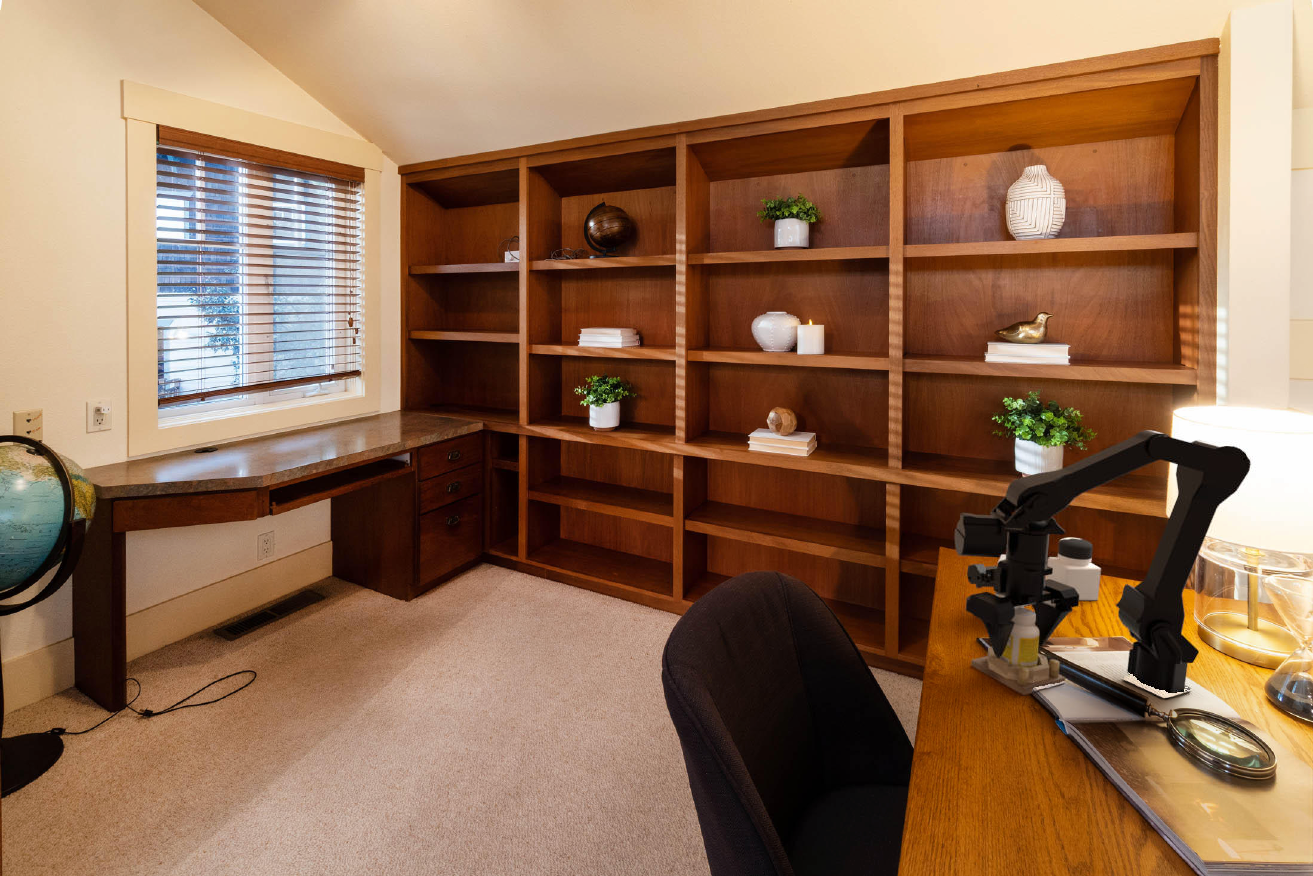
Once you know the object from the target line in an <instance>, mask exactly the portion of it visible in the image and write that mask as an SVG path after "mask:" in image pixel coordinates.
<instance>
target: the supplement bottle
mask: <svg viewBox="0 0 1313 876" xmlns="http://www.w3.org/2000/svg"><path fill="white" fill-rule="evenodd" d="M1011 621H1013V622H1015V624H1014V627H1013V629H1012V632H1011V635H1010V637H1009V640H1008V643H1007V645H1006V648H1005V650H1004V652H1003V654H1002V656H1001V657H999V659H1001V660H1003V661H1005V662H1006V663H1008V664H1010V665H1015V666H1021V667H1027V668H1031V667H1035V666H1037V658H1038V653H1039V629H1038V628H1037V626H1036V625H1035V621H1036V614H1035V611H1034V610H1032V609H1029V608H1026V607H1024V608H1022V607H1020V608H1015V616H1014V617H1013V619H1012V620H1011Z"/></svg>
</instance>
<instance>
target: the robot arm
mask: <svg viewBox="0 0 1313 876" xmlns="http://www.w3.org/2000/svg"><path fill="white" fill-rule="evenodd" d="M1157 461H1164V462H1168V463H1171V464H1175V465H1177V466H1176V470H1175V476H1176V484H1177V485H1176V486H1177V493H1178V494H1177V497H1176V500H1175V502H1174V505H1173V508H1172V510H1171V513H1170V515H1169V517H1168V520H1167V523H1166V525H1165V528H1164V530H1163V533H1162V536H1161V538H1160V540H1159V543H1158V545H1157V548H1156V551H1155V552H1154V556H1153V558H1152V561H1151V563H1150V566H1149V568H1148V570H1147V573H1146V576H1145V578H1144V579H1143V580H1142V581H1141V582H1139V583H1138V584H1137V585H1136V586H1132V585H1130V584H1128V583H1126V584H1125V585H1124V587H1123V589H1122V594H1121V597H1120V600H1119V601H1118V602H1116V604H1115V606H1116V608H1117V609H1118V613H1117V614H1118V618H1119V620H1120V622H1121V623H1122V625H1123V626H1124V627H1125V628H1126V629H1128V632H1129V635H1130V637H1132V638H1133V639H1134V640H1136V641H1134V642H1132V648H1131V649H1129V651H1128V652H1129V653H1128V660H1127V669H1126V670H1127V671H1128V672H1129V673H1130V674H1133V676H1135V677H1136V678H1137V680H1139V681H1140V682H1141V683H1143V684H1146V685H1148V686H1151V687H1154V688H1155V689H1159V690H1165V691H1166V692H1168V693H1177V692H1184V689H1187V690H1190V689H1192V688H1191V687H1190V686H1187V685H1186V678H1187V671H1188V664H1193V663H1194V662H1195V660H1196V658H1197V657H1198V655H1199V652H1200V651H1199V649H1197V648H1196V646H1195V645H1194V644H1192V643H1191V642H1190V641H1189V640H1188V639H1187V638H1186V637H1185V636H1184V635H1183V634H1182V632H1183V628H1184V623H1185V617H1186V614H1185V613H1186V612H1185V608H1184V607H1185V606H1184V599H1183V592H1184V590H1185V588H1186V585H1187V584H1188V583H1187V582H1188V580H1189V578H1190V576H1191V572H1192V571H1193V568H1194V565H1195V563H1196V560H1197V558H1198V555H1199V553H1200V551H1201V549H1202V546H1203V543H1204V541H1205V538H1206V536H1207V534H1208V531H1209V529H1210V526H1211V523H1212V522H1213V519H1214V516H1215V514H1216V511H1217V510H1218V508H1219V506H1220V505H1221V504H1222V503H1223V502H1224V501H1226V500H1227V499H1228V498H1230V497H1231V496H1232V495H1234V494H1235V493H1236V492H1237V491H1238V489H1239V488H1240V486H1241V485H1242V483H1243V482H1244V480H1245V479H1246V477H1247V475H1248V474H1249V473H1250V468H1251V465H1252V464H1251V463H1252V462H1251V459H1250V458H1249V457H1248V455H1247V454H1246V452H1245V451H1244V450H1242V449H1241V448H1239V447H1236V446H1235V445H1231V444H1230V445H1229V444H1226V443H1221V442H1218V441H1214V440H1210V439H1197V440H1194V441H1191V442H1190V441H1186V440H1182V439H1179V438H1178V439H1177V438H1174V437H1172V436H1170V435H1169V434H1166V433H1162V432H1159V431H1154V430H1151V429H1150V430H1148V429H1146V430H1141V431H1139V432H1138V433H1136V434H1135V435H1133V436H1132V437H1130V438H1127V439H1126V440H1122V441H1121V442H1119V443H1116V444H1113V445H1112V446H1110V447H1107V448H1106V449H1103V450H1101V451H1099V452H1097V453H1094V454H1092V455H1090V456H1088V457H1085V458H1083V459H1081V460H1079V461H1077V462H1075V463H1074V462H1073V464H1071V465H1068V466H1066V467H1063V468H1060V469H1057V470H1052V471H1046V472H1045V471H1044V472H1038V473H1034V474H1030V475H1027V476H1024V477H1020V478H1017V479H1015V480H1013V481H1012V482H1011V483H1010V484H1009V485H1008V487H1007V489H1006V490H1007V491H1006V492H1005V496H1004V497H1002V499H1001V500H1000V501H999V502H998V503H997V504H996V505H995V506H994V507H993V509H991V510H990V515H989V514H975V513H969V512H961V513H960V516H959V517H960V518H959V520H958V522H957V524H956V528H955V530H954V545H955V550H956V551H955V552H956V553H957V555H958V556H963V557H978V558H979V557H983V558H984V557H986V558H998V557H1000V556H1001V555H1003V554H1004V552H1005V551H1006V553H1005V555H1006V560H1001V561H999V560H998V561H999V562H998V561H997V564H998V565H988V566H985V565H984V564H983V563H978V564H977V563H974V564H969V565H968V566H967V573H966V575H967V576H966V577H967V580H968V582H969V584H971V585H975V588H976V589H981V588H993V592H995V591H996V592H998V593H1004V596H1005V597H1002V598H1001V597H998V596H996V595H995V594H993V593H991V592H988V591H983V592H978V593H973V594H970V595H969V596H967V597H966V601H965V611H966V612H967V613H970V614H971V615H973V616H974V617H976V618H978V619H980V620H981V622H982V623H983V625H984V627H985V629H986V631H987V635H988V638H989V641H990V645H991V647H992V648H993V651H994V654H995V655H997V656H999V657H1001V656H1002V654H1003V652H1004V650H1005V648H1006V645H1007V643H1008V640H1009V637H1010V635H1011V632H1012V629H1013V627H1014V624H1015V622H1013V621H1011V620H1012V619H1013V617H1014V616H1015V608H1020V607H1024V608H1026V607H1028V606H1031V607H1032V608H1033V611H1034V612H1035V614H1036V621H1035V623H1034V625H1036V626H1037V628H1038V629H1039V645H1038V647H1044V645H1045V644H1046V643H1047V641H1048V640H1049V638H1050V637H1051V636H1052V634H1053V633H1054V631H1055V630H1056V629H1057V628H1058V626H1059V625H1060V624H1061V623H1062V622H1063V620H1064V619H1065V618H1066V617H1067V616H1068V615H1069V613H1073V608H1075V607H1076V608H1077V607H1079V603H1080V600H1079V594H1078V593H1077V591H1076V590H1075V588H1073V587H1070V586H1068V585H1065V584H1062V583H1059V582H1057V581H1054V580H1051V579H1047V580H1046V575H1051V574H1052V573H1053V568H1051V567H1048V566H1047V564H1048V556H1049V555H1048V554H1049V543H1050V542H1049V540H1050V535H1056V536H1057V535H1058V536H1059V535H1062V536H1063V535H1065V534H1066V531H1065V529H1063V528H1062V527H1061V526H1060V525H1059V524H1058V523H1057V522H1056V519H1055V518H1054V516H1055V515H1057V514H1058V513H1060V512H1062V511H1063V510H1065V509H1066V508H1068V506H1069V505H1071V503H1072V502H1073V501H1074V500H1075V499H1076V498H1077V497H1079V496H1080V495H1082V494H1084V493H1086V492H1088V491H1091V490H1094V489H1095V488H1097V487H1098V488H1099V487H1100V486H1102V485H1104V484H1106V483H1109V482H1111V481H1114V480H1115V479H1118V478H1121V477H1122V476H1125V475H1127V474H1130V473H1131V472H1134V471H1136V470H1138V469H1140V468H1143V467H1145V466H1148V465H1149V464H1152V463H1155V462H1157ZM1127 671H1126V672H1127ZM1128 672H1127V673H1128ZM1130 674H1129V675H1130ZM1185 687H1188V688H1185ZM1187 690H1185V691H1187Z"/></svg>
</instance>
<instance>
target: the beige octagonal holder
mask: <svg viewBox="0 0 1313 876" xmlns="http://www.w3.org/2000/svg"><path fill="white" fill-rule="evenodd" d="M970 664H971V667H974V669H976V670H978V671H980V672H982V673H984V674H985V675H986V676H989V677H991V678H992V679H994V680H996V681H998V682H1000V684H1003V685H1005V686H1006V687H1008V688H1010V689H1012V690H1013V691H1016V692H1017V693H1019V694H1021V695H1023V696H1026V695H1029V694H1032V689H1033V688H1034V687H1039V686H1045V685H1048V684H1055V683H1060V682H1062V681H1065V682H1066V677H1064V676H1062V675H1061V674H1059V673H1060V661H1059V660H1057V659H1053V658H1051V659H1049V660H1048V658H1047V656H1045V655H1043V654H1040V653H1039V652H1038V658H1037V666H1035V667H1031V668H1027V667H1021V666H1015V665H1010V664H1008V663H1006V662H1005V661H1003V660H1001V659H999V656H997V655H995V654H994V651H993V648H992V646H990V647H988V648H987V655H986V656H982V657H979V658H974V659H971V663H970Z"/></svg>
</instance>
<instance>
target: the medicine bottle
mask: <svg viewBox="0 0 1313 876" xmlns="http://www.w3.org/2000/svg"><path fill="white" fill-rule="evenodd" d="M1093 547H1094V546H1093V544H1092V542H1089V541H1088V540H1086V539H1083V538H1079V537H1078V538H1077V537H1064V538H1061V539H1059V541H1058V548H1057V549H1058V550H1057V551H1058V552H1057V556H1055V557H1054V556H1049V557H1047V566H1048V567H1051V568H1053V573H1052V574H1051V575H1046V578H1045V580H1047V579H1051V580H1054V581H1057V582H1059V583H1062V584H1065V585H1068V586H1070V587H1073V588H1075V590H1076V591H1077V593H1078V594H1079V601H1098V600H1099V595H1100V594H1099V593H1100V583H1101V582H1100V581H1101V574H1102V573H1101V572H1102V568H1101V567H1099V566H1097V564H1096V565H1095V564H1094V563H1092V558H1093V557H1092V556H1093V551H1094V550H1093Z"/></svg>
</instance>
